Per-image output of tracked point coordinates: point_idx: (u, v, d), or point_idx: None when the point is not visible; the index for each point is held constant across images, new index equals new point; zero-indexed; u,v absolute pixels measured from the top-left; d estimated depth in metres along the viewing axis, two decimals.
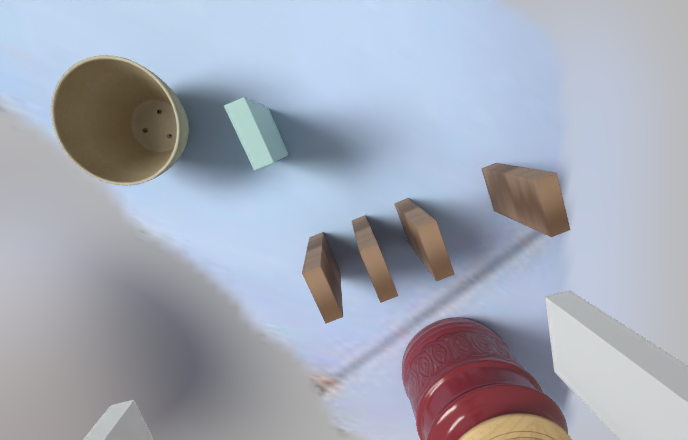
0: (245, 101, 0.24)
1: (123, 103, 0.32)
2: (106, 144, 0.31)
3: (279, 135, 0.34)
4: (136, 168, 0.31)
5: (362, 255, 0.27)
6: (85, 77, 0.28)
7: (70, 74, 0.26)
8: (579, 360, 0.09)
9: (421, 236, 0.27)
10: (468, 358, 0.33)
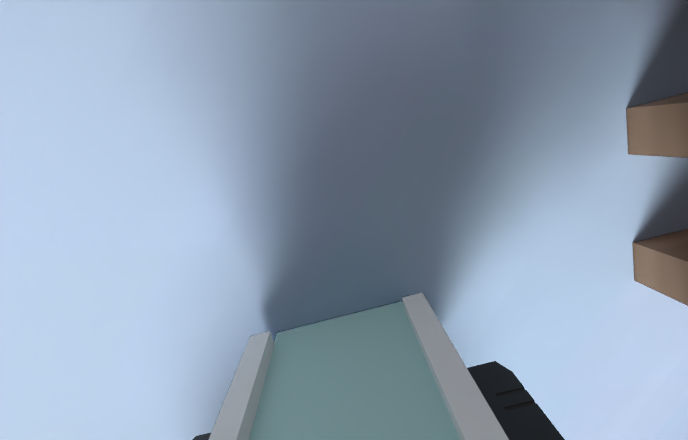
0: None
1: None
2: None
3: (349, 326, 0.12)
4: None
5: None
6: None
7: None
8: None
9: None
10: None
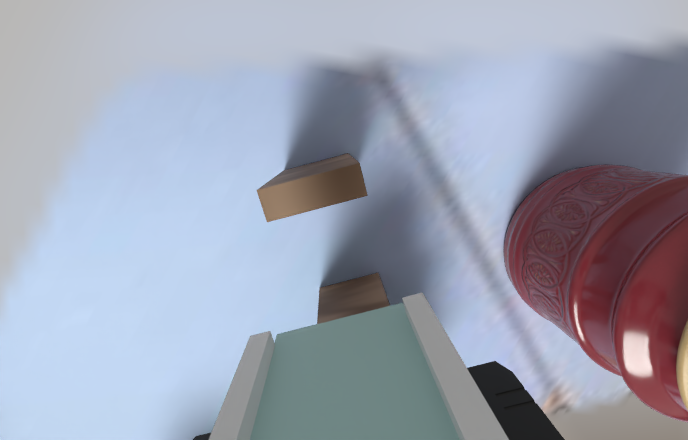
0: None
1: None
2: None
3: (349, 327, 0.12)
4: None
5: None
6: None
7: None
8: None
9: None
10: (563, 292, 0.20)
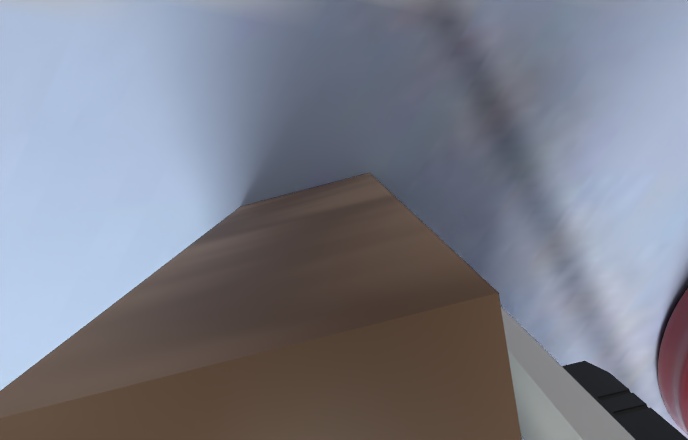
0: None
1: None
2: None
3: None
4: None
5: None
6: None
7: None
8: None
9: None
10: None
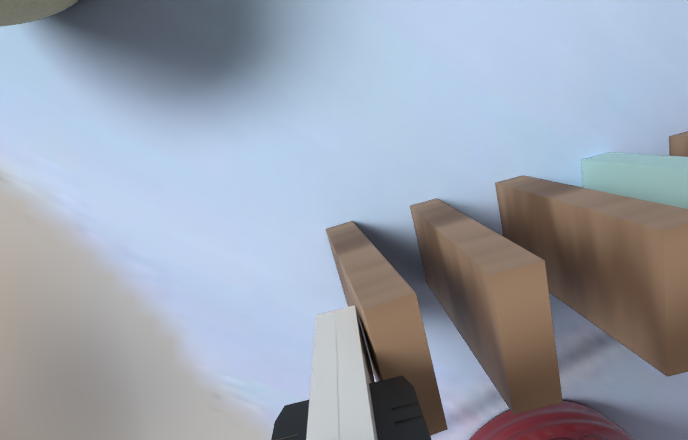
0: None
1: None
2: None
3: None
4: None
5: (496, 288, 0.10)
6: None
7: None
8: None
9: (665, 255, 0.10)
10: None
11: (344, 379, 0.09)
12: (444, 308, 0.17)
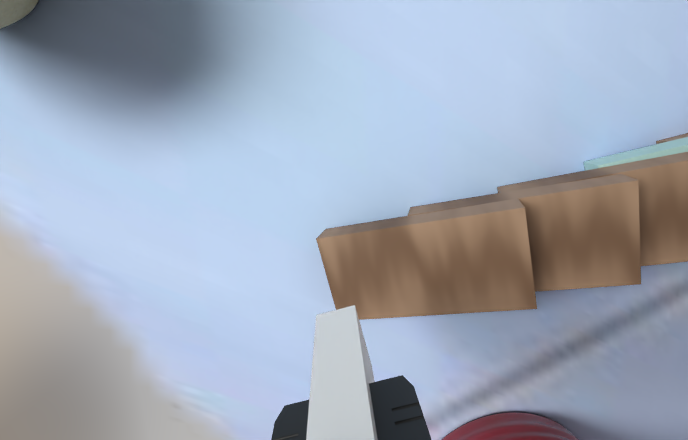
0: None
1: None
2: None
3: None
4: None
5: (637, 190, 0.15)
6: None
7: None
8: None
9: None
10: None
11: (344, 379, 0.09)
12: None
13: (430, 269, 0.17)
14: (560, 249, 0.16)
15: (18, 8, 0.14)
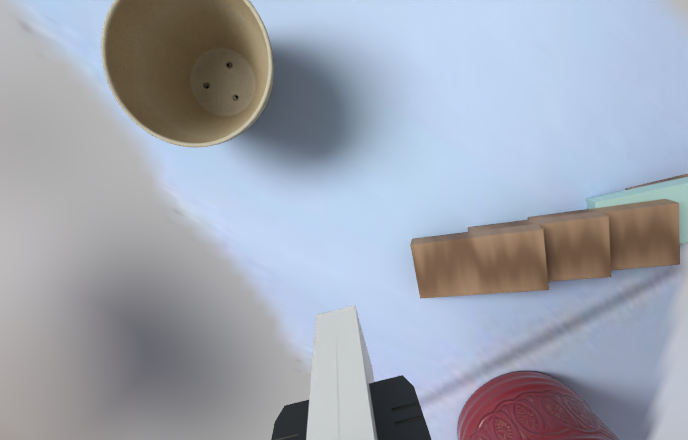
0: None
1: (188, 45, 0.25)
2: (159, 92, 0.24)
3: None
4: (192, 128, 0.24)
5: (608, 221, 0.26)
6: None
7: None
8: None
9: (678, 213, 0.26)
10: (571, 433, 0.26)
11: (344, 379, 0.09)
12: None
13: (484, 264, 0.27)
14: (564, 255, 0.27)
15: None
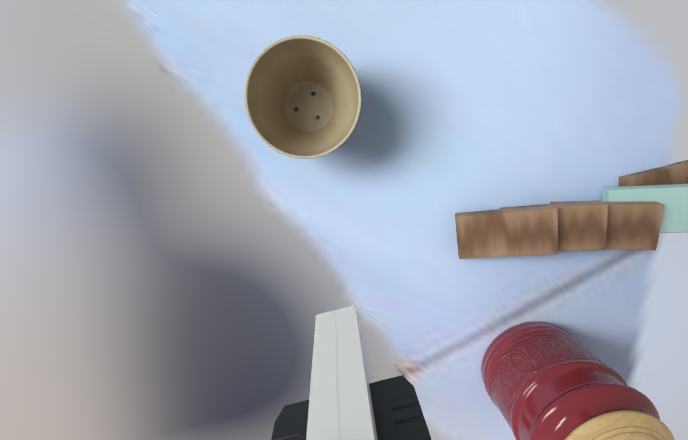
0: None
1: (286, 81, 0.34)
2: (269, 117, 0.33)
3: None
4: (293, 143, 0.33)
5: (607, 208, 0.35)
6: (277, 53, 0.29)
7: (271, 48, 0.28)
8: None
9: (662, 212, 0.35)
10: (569, 359, 0.36)
11: (344, 379, 0.09)
12: None
13: (510, 234, 0.37)
14: (572, 231, 0.37)
15: None
